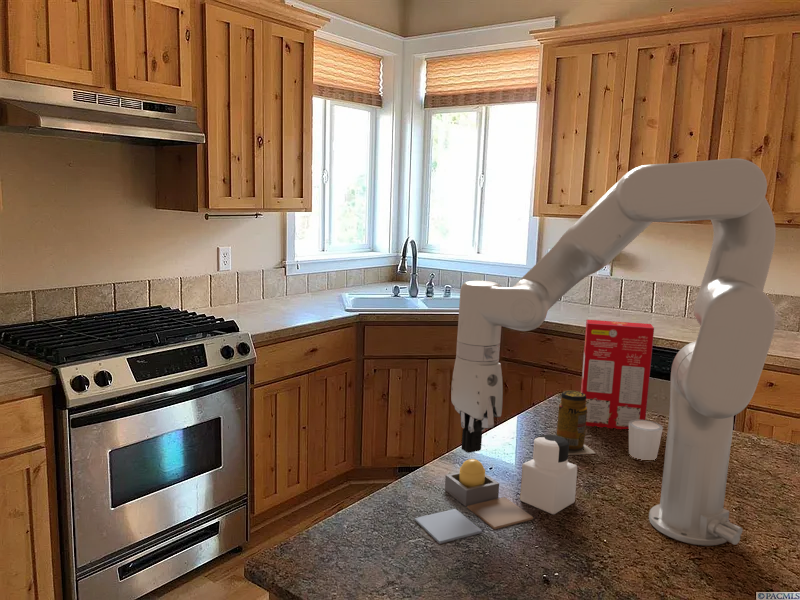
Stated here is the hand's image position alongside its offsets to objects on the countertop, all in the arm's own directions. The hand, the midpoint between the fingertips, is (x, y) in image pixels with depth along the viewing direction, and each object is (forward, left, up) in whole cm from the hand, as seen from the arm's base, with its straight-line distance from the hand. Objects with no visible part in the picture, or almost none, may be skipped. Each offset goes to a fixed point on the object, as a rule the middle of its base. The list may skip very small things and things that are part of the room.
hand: (471, 449), depth 116 cm
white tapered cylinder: (0, -44, -9) cm, 45 cm away
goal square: (-8, +10, -9) cm, 15 cm away
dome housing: (0, 0, -9) cm, 9 cm away
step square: (-8, -1, -9) cm, 12 cm away
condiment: (+10, -33, -9) cm, 36 cm away
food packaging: (+17, -52, -9) cm, 56 cm away
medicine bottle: (-8, -11, -9) cm, 17 cm away
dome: (0, 0, -7) cm, 7 cm away
